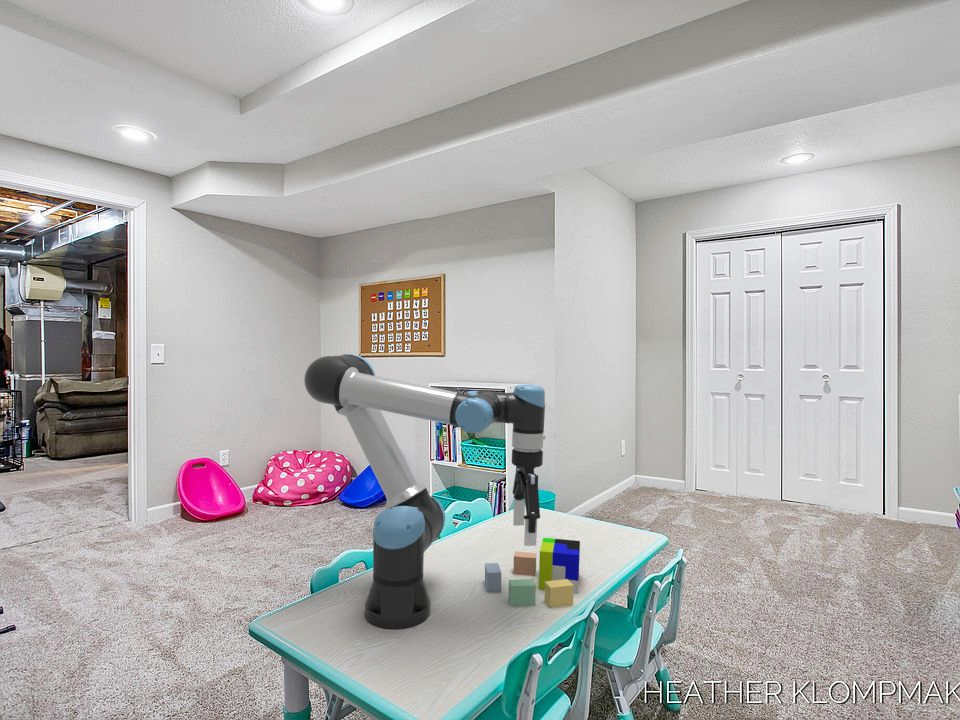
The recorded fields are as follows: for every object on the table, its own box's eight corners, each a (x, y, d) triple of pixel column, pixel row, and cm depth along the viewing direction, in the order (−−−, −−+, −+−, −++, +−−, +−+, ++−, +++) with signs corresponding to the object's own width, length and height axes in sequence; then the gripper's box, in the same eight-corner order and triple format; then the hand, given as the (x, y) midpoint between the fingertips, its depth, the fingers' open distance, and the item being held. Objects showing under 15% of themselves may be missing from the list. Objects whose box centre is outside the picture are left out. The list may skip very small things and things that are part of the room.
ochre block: (550, 608, 134) (550, 587, 134) (544, 601, 137) (545, 581, 137) (572, 605, 135) (573, 585, 135) (566, 598, 139) (567, 579, 139)
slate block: (501, 591, 142) (501, 572, 142) (487, 592, 141) (487, 572, 141) (497, 581, 148) (498, 562, 148) (484, 581, 147) (485, 563, 147)
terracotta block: (513, 574, 152) (513, 556, 152) (514, 569, 156) (514, 551, 156) (535, 576, 151) (535, 558, 151) (535, 570, 155) (536, 553, 155)
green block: (510, 606, 134) (511, 586, 134) (508, 599, 138) (508, 579, 137) (535, 605, 135) (535, 585, 135) (532, 598, 138) (532, 579, 138)
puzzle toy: (577, 593, 142) (579, 555, 141) (538, 589, 144) (539, 551, 143) (578, 577, 151) (580, 541, 151) (542, 573, 153) (543, 537, 153)
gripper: (556, 460, 123) (552, 554, 124) (531, 439, 148) (528, 517, 149) (522, 460, 122) (519, 555, 123) (503, 438, 147) (500, 517, 148)
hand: (524, 534), depth 136 cm, fingers open, 13 cm apart
